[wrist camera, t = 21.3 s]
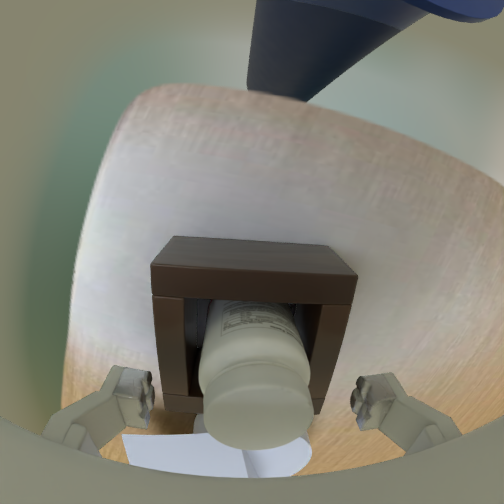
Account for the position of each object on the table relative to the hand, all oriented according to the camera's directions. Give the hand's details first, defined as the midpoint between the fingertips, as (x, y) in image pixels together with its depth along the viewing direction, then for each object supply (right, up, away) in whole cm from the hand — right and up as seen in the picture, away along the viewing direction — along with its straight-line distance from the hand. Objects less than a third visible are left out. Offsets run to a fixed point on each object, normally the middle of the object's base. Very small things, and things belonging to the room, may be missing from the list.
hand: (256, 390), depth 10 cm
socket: (-1, +2, +7) cm, 7 cm away
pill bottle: (0, +2, +7) cm, 7 cm away
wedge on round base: (-2, -9, +10) cm, 14 cm away
